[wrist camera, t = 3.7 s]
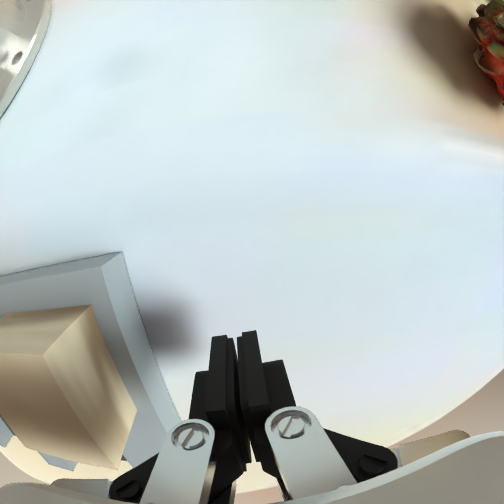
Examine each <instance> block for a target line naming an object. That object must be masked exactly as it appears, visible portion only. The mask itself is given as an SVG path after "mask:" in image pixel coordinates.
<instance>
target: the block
mask: <svg viewBox="0 0 504 504" xmlns="http://www.w3.org/2000/svg"><path fill="white" fill-rule="evenodd" d="M136 412H137V409H136V407H135V405H134V403H133V401H132V399H131V397H130V395H129V393H128V391H127V389H126V387H125V385H124V383H123V381H122V379H121V377H120V375H119V372H118V370H117V368H116V366H115V364H114V361H113V359H112V357H111V354H110V352H109V350H108V347H107V345H106V342H105V340H104V337H103V335H102V332H101V329H100V327H99V324H98V321H97V319H96V316H95V313H94V310H93V307H92V304H91V305H82V306H72V307H63V308H53V309H43V310H32V311H21V312H9V313H7V314H5V315H4V316H3V317H1V318H0V414H1V416H2V417H3V419H4V420H5V422H6V423H7V424H8V426H9V427H10V428H11V430H12V431H13V432H14V434H15V435H16V436H17V437H18V439H19V440H20V441H21V442H22V443H23V445H24V446H25V447H27V448H29V449H32V450H35V451H38V452H42V453H45V454H48V455H51V456H55V457H59V458H62V459H66V460H70V461H74V462H79V463H83V464H88V465H93V466H99V467H104V468H110V469H117V470H118V467H119V464H120V461H121V458H122V454H123V451H124V448H125V445H126V442H127V439H128V436H129V433H130V430H131V427H132V424H133V421H134V418H135V415H136Z"/></svg>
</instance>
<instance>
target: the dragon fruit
mask: <svg viewBox="0 0 504 504" xmlns="http://www.w3.org/2000/svg"><path fill="white" fill-rule="evenodd" d="M476 12H477V13H478V15H479V17H477V18H471V19H470V21H469V27H470V29H471V32H472V34H473V36H474V38H475V40H476V41H477V42H478V43H479V44H480V45H479V46H478V48H476V51H475V52H474V53H473V56H474V58H475V61H476V63H477V65H478V66H479V68H480V69H481V71H482V72H483V73H484V74H485V75H486V76H488V77H490V78H493V79H494V80H495V82H496V84H497V89H498V94H499V95H500V96H501V98H502V99H503V101H504V6H503V5H501V4H499V3H496V2H493V1H492V2H490V3H488V4H487V6H486V5H484V4H481V5H480V6H479V7H478V8H477V10H476ZM502 103H503V102H502ZM503 105H504V103H503Z"/></svg>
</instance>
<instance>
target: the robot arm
mask: <svg viewBox="0 0 504 504" xmlns="http://www.w3.org/2000/svg"><path fill="white" fill-rule="evenodd" d="M51 7H52V6H51V0H0V117H1V115H2V114H3V113H4V111H5V110H6V108H7V107H8V105H9V104H10V102H11V101H12V99H13V97H14V96H15V94H16V92H17V91H18V89H19V88H20V86H21V84H22V82H23V80H24V79H25V77H26V75H27V73H28V71H29V70H30V68H31V66H32V64H33V61H34V59H35V57H36V55H37V53H38V51H39V49H40V46H41V44H42V41H43V39H44V36H45V34H46V31H47V27H48V24H49V20H50V15H51ZM237 349H238V359H237V354H236V350H235V345H234V341H233V338H227V335H222V336H215V337H212V341H211V351H210V361H209V371H200V372H196V374H195V380H194V386H193V393H192V400H191V406H190V413H189V419H188V420H184V421H181V422H179V423H177V424H175V425H174V426H173V427H172V428H171V429H170V430H169V431H168V433H167V435H166V438H165V440H164V443H163V445H162V448H161V450H160V452H159V453H157V454H156V455H154V456H153V457H151V458H149V459H148V460H146V461H145V462H143V463H141V464H140V465H138V466H136V467H135V468H133V469H131V470H130V471H128V472H126V473H124V474H123V475H121V476H119V477H118V478H117V479H115V480H114V481H112V482H110V481H109V480H108V479H64V478H63V479H58V480H56V481H54V482H53V483H52V484H51V485H47V484H40V483H30V482H29V483H28V482H27V483H26V482H25V483H11V484H7V485H5V486H3V487H1V488H0V504H234V498H235V491H236V479H237V478H239V477H240V476H241V475H242V474H243V472H244V471H247V469H246V463H251V462H252V460H251V449H250V442H251V446H252V449H253V452H254V456H255V459H256V462H261V465H262V469H263V471H264V472H266V473H268V474H270V475H272V476H274V477H276V481H277V484H278V486H279V488H280V491H281V494H282V496H283V499H284V501H283V502H277V503H271V504H504V431H496V432H490V433H485V434H480V435H477V436H473V437H470V436H469V435H468V434H467V433H466V432H464V431H460V430H453V431H448V432H445V433H442V434H439V435H436V436H432V437H429V438H425V439H421V440H417V441H413V442H409V443H404V444H400V445H398V446H397V448H394V449H388V448H385V447H383V446H379V445H375V444H372V443H368V442H365V441H361V440H358V439H355V438H351V437H348V436H345V435H342V434H339V433H336V432H333V431H330V430H327V429H324V428H322V426H321V424H320V423H319V421H318V420H317V418H316V416H315V415H314V414H313V413H312V412H311V411H309V410H308V409H306V408H302V407H296V404H295V400H294V397H293V394H292V390H291V387H290V383H289V380H288V377H287V373H286V370H285V366H284V363H283V360H277V361H271V362H265V363H262V361H261V355H260V349H259V344H258V338H257V332H256V330H255V331H249V332H242V336H241V337H237Z"/></svg>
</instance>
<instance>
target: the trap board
mask: <svg viewBox="0 0 504 504" xmlns="http://www.w3.org/2000/svg"><path fill="white" fill-rule="evenodd" d="M91 304H92V307H93V310H94V313H95V316H96V319H97V321H98V324H99V327H100V329H101V332H102V335H103V337H104V340H105V342H106V345H107V347H108V350H109V352H110V354H111V357H112V359H113V361H114V364H115V366H116V368H117V370H118V372H119V375H120V377H121V379H122V381H123V383H124V385H125V387H126V389H127V391H128V393H129V395H130V397H131V399H132V401H133V403H134V405H135V407H136V409H137V412H136V415H135V418H134V421H133V424H132V427H131V430H130V433H129V436H128V439H127V442H126V445H125V448H124V451H123V454H122V458H121V460H124V461H128V462H129V463H130V465H131V466H132V467H133V468H135V467H136V466H138V465H140V464H141V463H143V462H145V461H146V460H148V459H149V458H151V457H153V456H154V455H156V454H157V453H159V452H160V450H161V448H162V445H163V443H164V440H165V438H166V435H167V433H168V431H169V430H170V429H171V428H172V427H173V426H174V425H175V424H177V423H179V422H181V419H180V417H179V415H178V412H177V410H176V408H175V406H174V404H173V401H172V399H171V397H170V394H169V392H168V390H167V387H166V385H165V382H164V380H163V377H162V375H161V372H160V370H159V367H158V365H157V362H156V359H155V357H154V354H153V351H152V349H151V346H150V343H149V340H148V337H147V334H146V331H145V328H144V325H143V322H142V319H141V316H140V313H139V310H138V306H137V303H136V300H135V296H134V293H133V289H132V286H131V282H130V278H129V275H128V271H127V267H126V263H125V259H124V255H123V252H117V253H112V254H107V255H102V256H96V257H91V258H86V259H81V260H76V261H71V262H66V263H61V264H56V265H51V266H46V267H42V268H37V269H32V270H27V271H23V272H18V273H13V274H9V275H4V276H0V318H1V317H3V316H4V315H5V314H7V313H9V312H21V311H32V310H43V309H53V308H63V307H72V306H82V305H91ZM13 435H15V434H14V432H13V431H12V430H11V428H10V427H9V426H8V424H7V423H6V422H5V420H4V419H3V417H2V416H1V414H0V445H1V446H3V447H6V446H7V444H8V443H9V441H10V439H11V438H12V436H13ZM15 436H16V435H15ZM38 453H39V454H40V455H41V456H42V457H43V458H44V459H45V460H46V462H47V463H48V464H50V465H53V466H56V467H60V468H63V469H67V470H71V471H74V468H75V466H76V464H77V462H74V461H70V460H66V459H62V458H59V457H55V456H51V455H48V454H45V453H42V452H38Z"/></svg>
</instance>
